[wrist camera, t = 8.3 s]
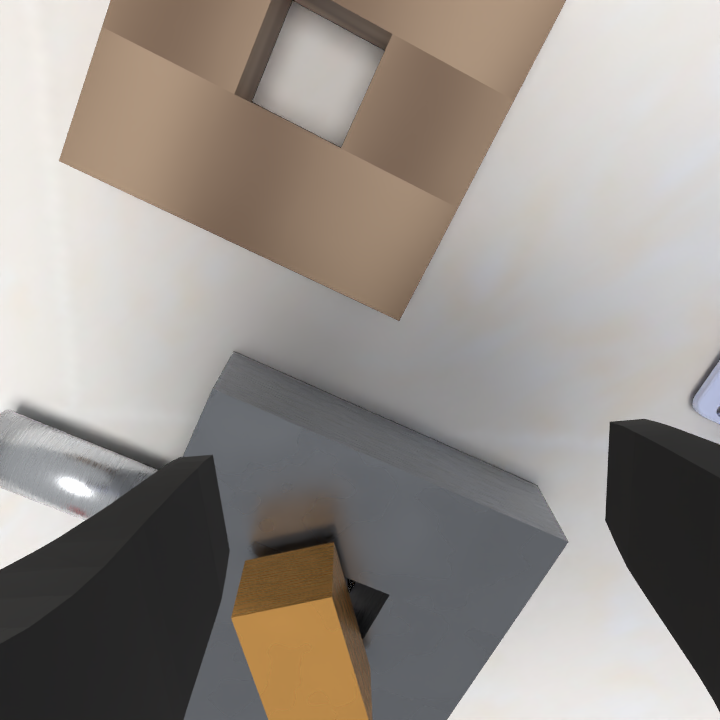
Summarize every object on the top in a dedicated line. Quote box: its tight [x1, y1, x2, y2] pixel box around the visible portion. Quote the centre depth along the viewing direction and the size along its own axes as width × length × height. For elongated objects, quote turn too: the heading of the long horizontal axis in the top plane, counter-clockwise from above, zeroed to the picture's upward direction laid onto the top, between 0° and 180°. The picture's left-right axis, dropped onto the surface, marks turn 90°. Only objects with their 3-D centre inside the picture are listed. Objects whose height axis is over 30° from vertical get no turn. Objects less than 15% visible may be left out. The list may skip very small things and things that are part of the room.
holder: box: [59, 0, 566, 321], centre depth 17 cm, size 10×10×3 cm
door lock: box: [0, 352, 568, 720], centre depth 22 cm, size 18×12×4 cm, turn 64°
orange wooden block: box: [231, 542, 372, 720], centre depth 21 cm, size 5×3×6 cm, turn 13°
